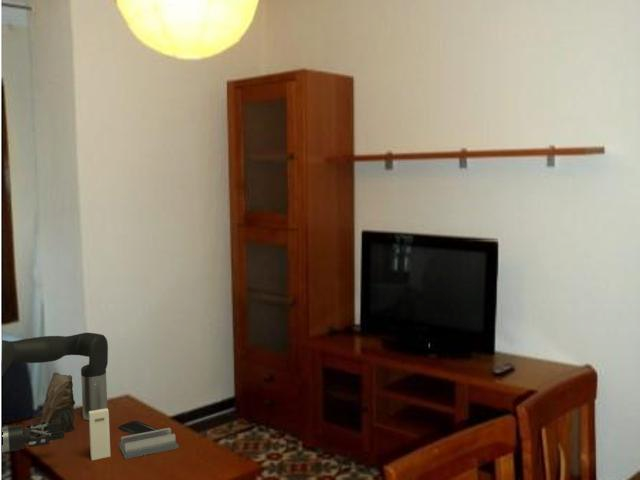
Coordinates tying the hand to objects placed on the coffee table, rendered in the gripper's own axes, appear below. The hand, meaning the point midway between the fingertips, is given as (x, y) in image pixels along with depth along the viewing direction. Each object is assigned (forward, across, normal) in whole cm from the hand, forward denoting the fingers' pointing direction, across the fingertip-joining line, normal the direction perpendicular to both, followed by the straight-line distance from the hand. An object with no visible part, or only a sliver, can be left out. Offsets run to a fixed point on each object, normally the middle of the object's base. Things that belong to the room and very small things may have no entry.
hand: (62, 430), depth 203 cm
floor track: (+28, 0, +11) cm, 30 cm away
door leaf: (+12, 0, +12) cm, 16 cm away
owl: (0, +33, +12) cm, 35 cm away
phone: (+28, +17, +12) cm, 35 cm away
